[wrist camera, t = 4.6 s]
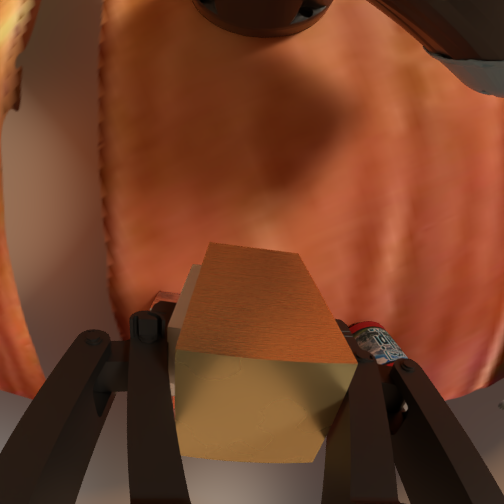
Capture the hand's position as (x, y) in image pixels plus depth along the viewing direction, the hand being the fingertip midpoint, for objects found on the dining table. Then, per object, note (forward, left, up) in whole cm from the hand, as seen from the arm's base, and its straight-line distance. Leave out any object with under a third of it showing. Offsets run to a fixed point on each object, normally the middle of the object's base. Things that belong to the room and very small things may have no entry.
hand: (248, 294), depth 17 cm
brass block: (0, 0, -1) cm, 1 cm away
